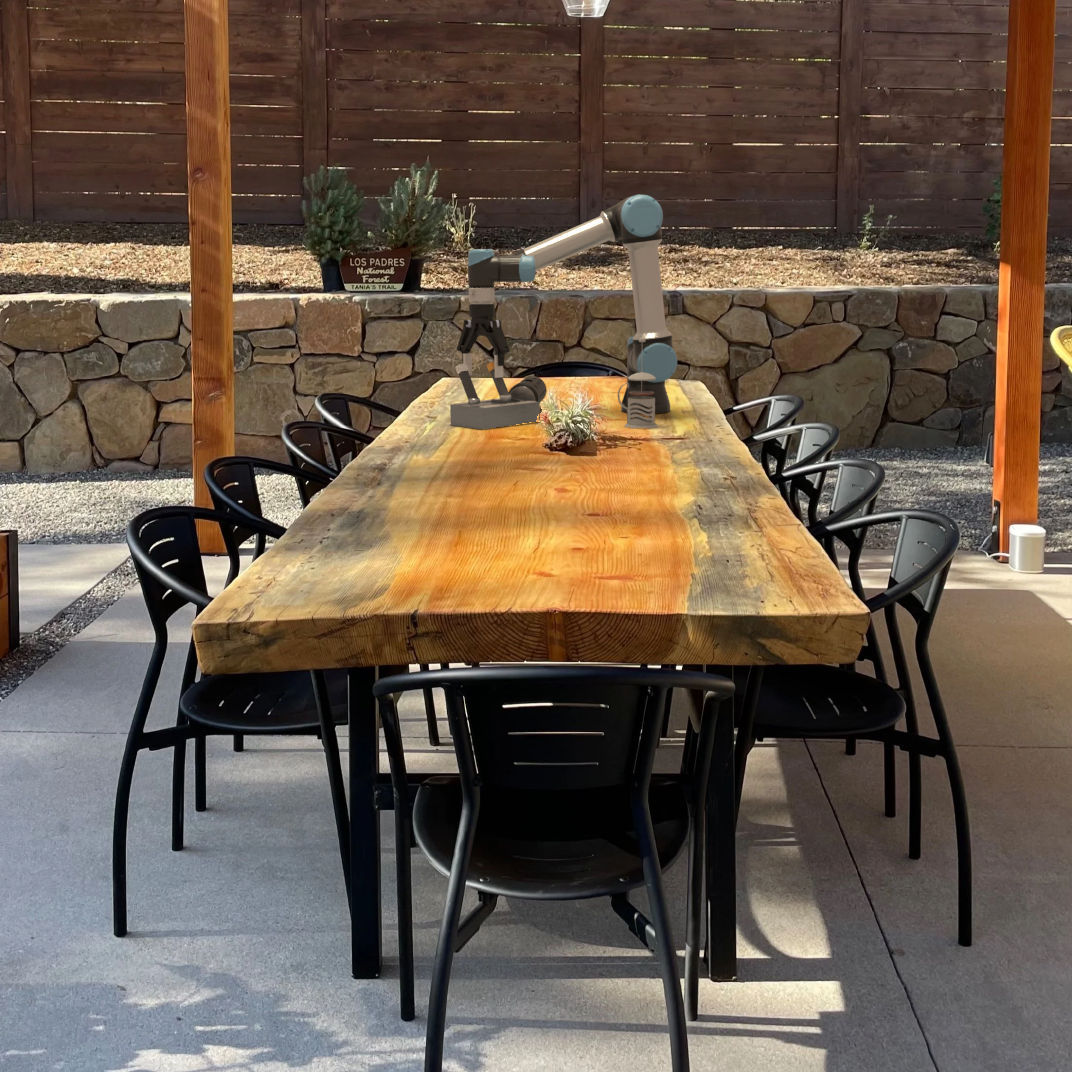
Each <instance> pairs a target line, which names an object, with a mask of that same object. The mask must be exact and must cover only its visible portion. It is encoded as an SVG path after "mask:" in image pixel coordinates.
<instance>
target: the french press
mask: <svg viewBox="0 0 1072 1072" xmlns="http://www.w3.org/2000/svg"><path fill="white" fill-rule="evenodd" d="M639 342H645V339H644V338H640V339H639ZM628 380H633V381H641V391H631V392H629V394H631V395H652V394H654V392H652V391H642V381H653V380H656V378H655V377H654V376H653V375H651V374H648V373H644V372H642V364H641V372H640V373H635V374H633V375H631V376H629V377H628ZM625 385H626V388H627V387H628V388H629V383H628V382H627V381H626V382H625V383H623V384H622V385H621V386H620V387H619V389H618V390H617V391H618V392H617V400H618V403H619V406H622V405H623V404H622V400H621V399H620V398H621V396H620V392H621V389H622V388H623V387H624V386H625ZM633 403H634V404H633ZM639 404H640V405H644V406H646V407H648V408H650V409H646V408H644V407H641V406H638V405H639ZM623 406H624V405H623ZM623 406H622V407H623ZM651 406H652V407H651ZM623 408H625V409H627V412H626V423H625V424H624V425H623V427H624V426H625V427H624V428H627V427H630V428H629V429H635V428H646V429H645V430H647V428H648V429H656V428H659V425H658V424H657V423H656V422H655V421H656V413H655V397H650V396H633V397H628V408H627V407H625V406H624V407H623ZM636 409H642V410H645V411H647V412H649V413H651V414H647V413H645V412H643V411H640V410H636ZM633 412H634V413H633Z"/></svg>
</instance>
